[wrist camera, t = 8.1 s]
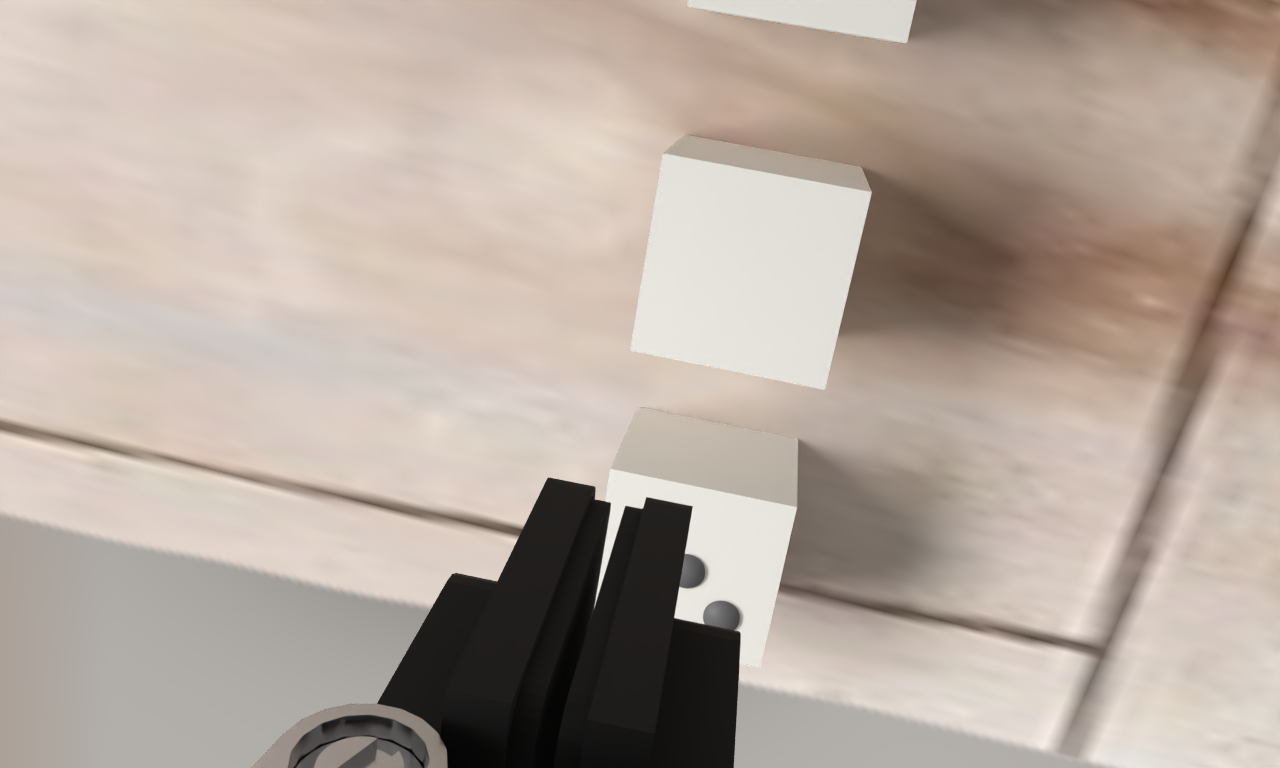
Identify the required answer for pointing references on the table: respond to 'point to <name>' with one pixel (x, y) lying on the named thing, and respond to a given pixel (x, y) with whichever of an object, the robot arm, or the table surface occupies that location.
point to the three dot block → (714, 514)
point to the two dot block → (825, 15)
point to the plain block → (750, 259)
